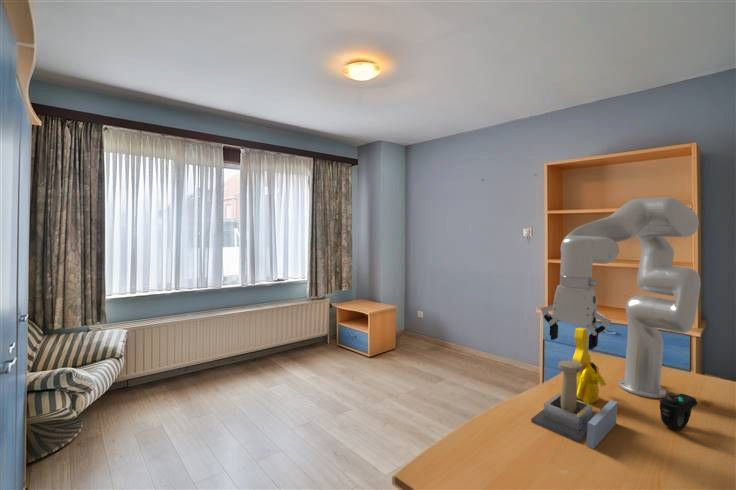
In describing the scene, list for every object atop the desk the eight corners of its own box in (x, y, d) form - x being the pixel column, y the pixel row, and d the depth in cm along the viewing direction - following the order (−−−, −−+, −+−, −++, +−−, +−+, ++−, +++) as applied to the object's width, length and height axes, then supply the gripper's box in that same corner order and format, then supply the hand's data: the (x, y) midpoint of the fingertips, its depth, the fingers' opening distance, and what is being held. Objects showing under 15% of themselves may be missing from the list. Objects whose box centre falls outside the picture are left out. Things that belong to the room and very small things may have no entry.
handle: (584, 418, 99) (586, 365, 99) (566, 422, 97) (569, 368, 96) (569, 410, 104) (571, 359, 103) (552, 413, 102) (554, 362, 101)
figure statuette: (583, 411, 105) (587, 338, 104) (557, 400, 112) (560, 331, 110) (611, 396, 115) (616, 329, 113) (585, 386, 121) (589, 323, 120)
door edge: (609, 420, 101) (610, 400, 100) (616, 423, 99) (617, 402, 99) (586, 445, 89) (587, 422, 88) (593, 449, 88) (595, 425, 87)
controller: (654, 428, 97) (657, 392, 97) (678, 418, 103) (681, 384, 102) (673, 436, 93) (676, 399, 93) (697, 426, 99) (700, 391, 98)
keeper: (558, 401, 111) (558, 387, 111) (602, 418, 102) (603, 402, 102) (531, 421, 99) (532, 406, 99) (578, 442, 90) (579, 425, 90)
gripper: (616, 285, 94) (613, 349, 95) (548, 277, 107) (546, 333, 108) (607, 289, 89) (603, 356, 90) (537, 279, 102) (534, 338, 103)
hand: (572, 343), depth 99 cm, fingers open, 9 cm apart
